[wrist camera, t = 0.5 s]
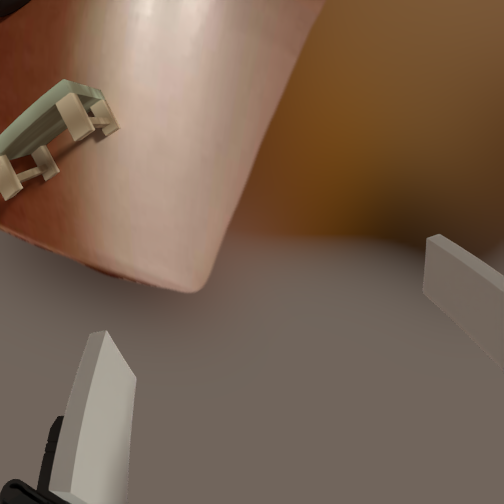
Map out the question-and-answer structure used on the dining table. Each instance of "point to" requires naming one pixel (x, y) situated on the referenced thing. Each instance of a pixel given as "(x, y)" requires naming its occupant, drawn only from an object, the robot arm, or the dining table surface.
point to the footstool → (51, 130)
